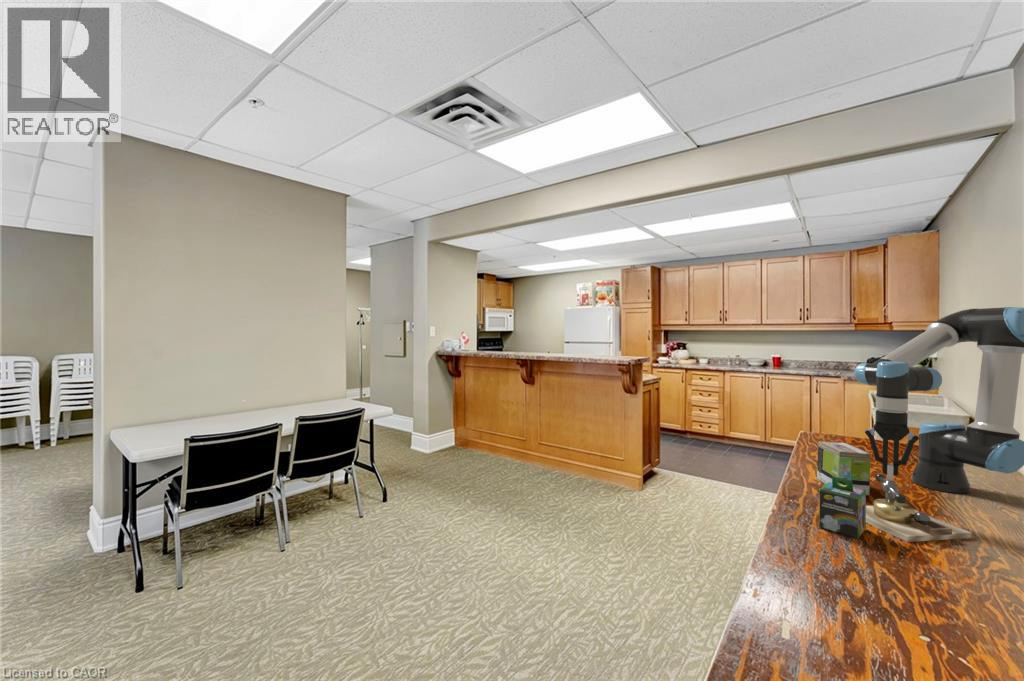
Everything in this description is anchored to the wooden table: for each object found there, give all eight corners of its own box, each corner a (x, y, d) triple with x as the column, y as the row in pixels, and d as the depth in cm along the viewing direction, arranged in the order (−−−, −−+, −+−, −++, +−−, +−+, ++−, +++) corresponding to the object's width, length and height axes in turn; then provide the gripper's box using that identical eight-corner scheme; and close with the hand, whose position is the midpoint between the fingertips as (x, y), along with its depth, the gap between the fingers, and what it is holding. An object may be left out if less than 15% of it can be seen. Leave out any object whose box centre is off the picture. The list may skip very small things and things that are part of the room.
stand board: (899, 508, 135) (899, 499, 135) (972, 538, 116) (972, 527, 116) (843, 511, 133) (843, 502, 133) (908, 542, 114) (908, 531, 113)
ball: (920, 521, 122) (920, 509, 122) (933, 527, 118) (934, 515, 118) (909, 522, 121) (910, 510, 121) (922, 528, 118) (923, 515, 118)
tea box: (870, 496, 145) (872, 453, 145) (837, 493, 147) (838, 451, 147) (845, 480, 160) (846, 441, 160) (815, 478, 162) (816, 440, 162)
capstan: (861, 496, 141) (861, 468, 140) (896, 501, 136) (897, 473, 136) (880, 522, 122) (881, 490, 121) (922, 529, 117) (923, 496, 117)
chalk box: (866, 529, 121) (867, 478, 120) (858, 540, 115) (860, 485, 115) (826, 518, 128) (828, 469, 128) (817, 527, 122) (819, 476, 122)
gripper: (918, 411, 133) (917, 486, 133) (864, 406, 141) (863, 477, 141) (921, 415, 127) (919, 493, 127) (864, 409, 135) (863, 483, 136)
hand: (889, 484), depth 134 cm, fingers closed
